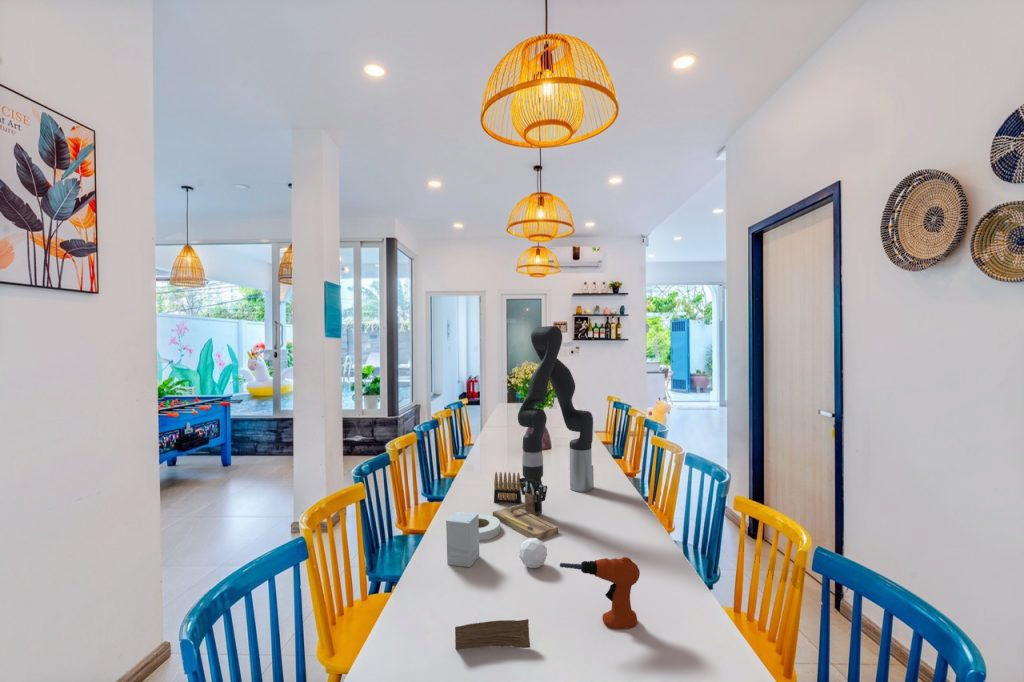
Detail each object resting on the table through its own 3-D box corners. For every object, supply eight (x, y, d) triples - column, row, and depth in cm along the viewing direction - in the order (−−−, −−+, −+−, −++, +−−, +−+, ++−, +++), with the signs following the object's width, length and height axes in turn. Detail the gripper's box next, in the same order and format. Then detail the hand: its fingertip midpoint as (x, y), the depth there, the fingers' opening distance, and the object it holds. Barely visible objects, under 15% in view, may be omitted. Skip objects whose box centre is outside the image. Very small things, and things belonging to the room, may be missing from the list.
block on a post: (534, 509, 168) (534, 490, 168) (541, 513, 164) (541, 493, 164) (507, 517, 161) (507, 497, 161) (514, 521, 157) (514, 501, 157)
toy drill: (552, 612, 103) (559, 546, 103) (632, 618, 104) (639, 553, 104) (555, 625, 98) (563, 557, 98) (639, 632, 99) (647, 564, 99)
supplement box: (480, 556, 133) (479, 513, 133) (469, 568, 126) (469, 523, 126) (457, 552, 136) (456, 510, 136) (446, 564, 129) (445, 520, 129)
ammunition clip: (521, 502, 177) (521, 471, 177) (520, 503, 175) (520, 472, 175) (494, 501, 179) (494, 470, 179) (493, 502, 177) (493, 472, 177)
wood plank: (455, 654, 92) (454, 629, 92) (455, 647, 94) (455, 623, 94) (530, 648, 93) (529, 624, 93) (528, 641, 95) (528, 618, 95)
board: (515, 511, 168) (514, 505, 168) (558, 532, 149) (558, 526, 149) (492, 517, 162) (492, 511, 162) (534, 541, 143) (534, 534, 143)
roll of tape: (445, 535, 148) (444, 527, 148) (470, 519, 162) (470, 511, 162) (485, 545, 141) (485, 536, 141) (508, 527, 155) (508, 518, 155)
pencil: (505, 517, 157) (505, 515, 157) (532, 529, 147) (532, 527, 147) (503, 518, 156) (503, 515, 156) (530, 530, 146) (530, 527, 146)
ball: (540, 577, 126) (552, 561, 123) (514, 569, 125) (525, 553, 121) (540, 552, 133) (551, 536, 129) (515, 545, 132) (525, 528, 128)
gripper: (553, 465, 161) (554, 513, 161) (528, 457, 173) (529, 502, 173) (536, 469, 157) (537, 518, 157) (512, 460, 168) (513, 506, 168)
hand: (533, 509), depth 165 cm, fingers closed on block on a post, 4 cm apart
